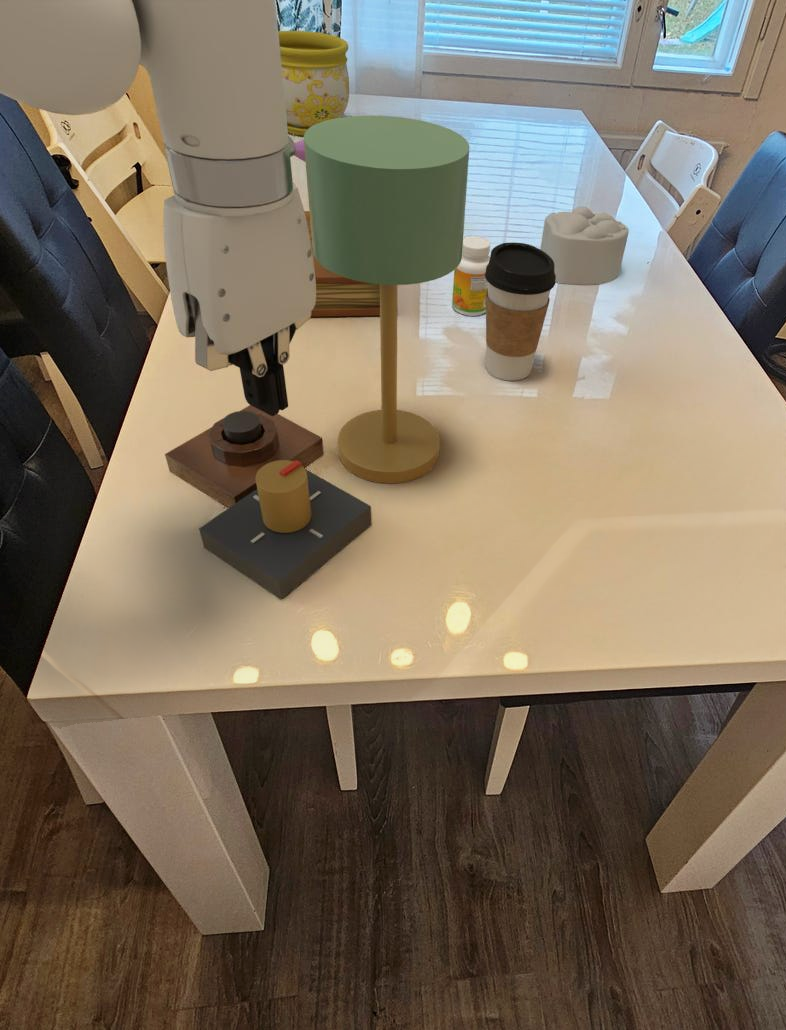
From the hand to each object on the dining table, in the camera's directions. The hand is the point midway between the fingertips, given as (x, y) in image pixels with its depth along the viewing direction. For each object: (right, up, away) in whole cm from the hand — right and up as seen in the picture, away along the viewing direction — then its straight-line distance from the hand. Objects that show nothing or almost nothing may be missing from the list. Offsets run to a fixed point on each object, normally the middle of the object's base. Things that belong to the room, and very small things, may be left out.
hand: (267, 405), depth 58 cm
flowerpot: (-20, +76, +97) cm, 125 cm away
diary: (-6, +26, +47) cm, 54 cm away
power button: (-7, -1, +14) cm, 15 cm away
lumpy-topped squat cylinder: (+34, +31, +57) cm, 73 cm away
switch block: (-7, -4, +16) cm, 18 cm away
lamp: (+8, -2, +19) cm, 21 cm away
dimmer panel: (-1, -11, +9) cm, 14 cm away
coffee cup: (+21, +10, +34) cm, 41 cm away
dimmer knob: (0, -9, +7) cm, 12 cm away
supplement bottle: (+16, +21, +45) cm, 52 cm away
